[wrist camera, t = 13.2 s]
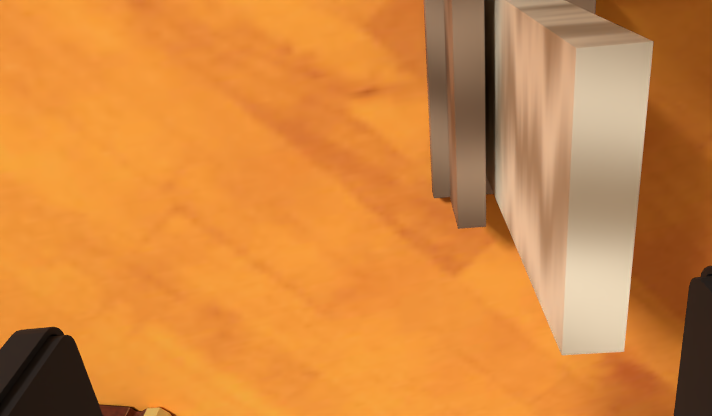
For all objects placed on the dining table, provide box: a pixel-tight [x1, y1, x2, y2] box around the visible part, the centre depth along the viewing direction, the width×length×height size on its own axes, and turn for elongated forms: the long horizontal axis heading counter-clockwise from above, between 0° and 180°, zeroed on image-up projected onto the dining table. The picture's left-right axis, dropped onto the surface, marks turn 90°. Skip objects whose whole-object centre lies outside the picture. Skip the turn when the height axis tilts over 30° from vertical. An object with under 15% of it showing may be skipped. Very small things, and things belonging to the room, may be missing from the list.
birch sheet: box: [484, 0, 653, 355], centre depth 26 cm, size 10×2×16 cm, turn 5°
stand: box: [424, 0, 596, 229], centre depth 32 cm, size 12×8×5 cm, turn 5°
